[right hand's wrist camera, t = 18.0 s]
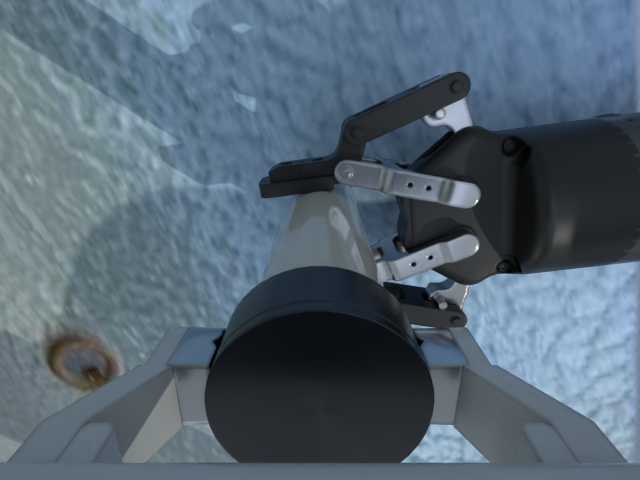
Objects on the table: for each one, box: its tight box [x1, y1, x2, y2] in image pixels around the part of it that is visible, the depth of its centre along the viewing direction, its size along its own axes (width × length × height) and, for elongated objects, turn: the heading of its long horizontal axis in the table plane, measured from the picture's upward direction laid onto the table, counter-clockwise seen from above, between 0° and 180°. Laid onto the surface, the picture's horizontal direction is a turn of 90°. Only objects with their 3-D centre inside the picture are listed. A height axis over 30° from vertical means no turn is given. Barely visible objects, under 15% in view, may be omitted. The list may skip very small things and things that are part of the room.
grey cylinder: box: [261, 184, 384, 287], centre depth 18 cm, size 4×4×18 cm
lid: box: [204, 266, 435, 463], centre depth 9 cm, size 5×5×2 cm
